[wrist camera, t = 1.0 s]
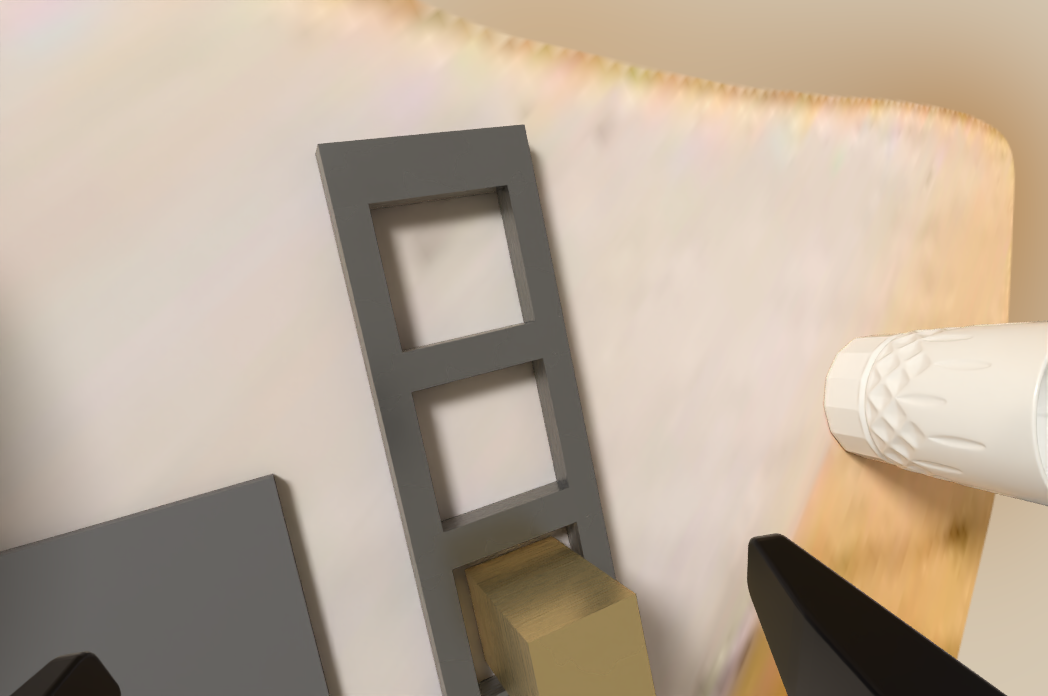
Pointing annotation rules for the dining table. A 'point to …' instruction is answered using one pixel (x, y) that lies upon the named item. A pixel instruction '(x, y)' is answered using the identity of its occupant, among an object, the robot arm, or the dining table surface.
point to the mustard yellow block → (558, 625)
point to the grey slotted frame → (462, 365)
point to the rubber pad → (168, 600)
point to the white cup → (949, 404)
